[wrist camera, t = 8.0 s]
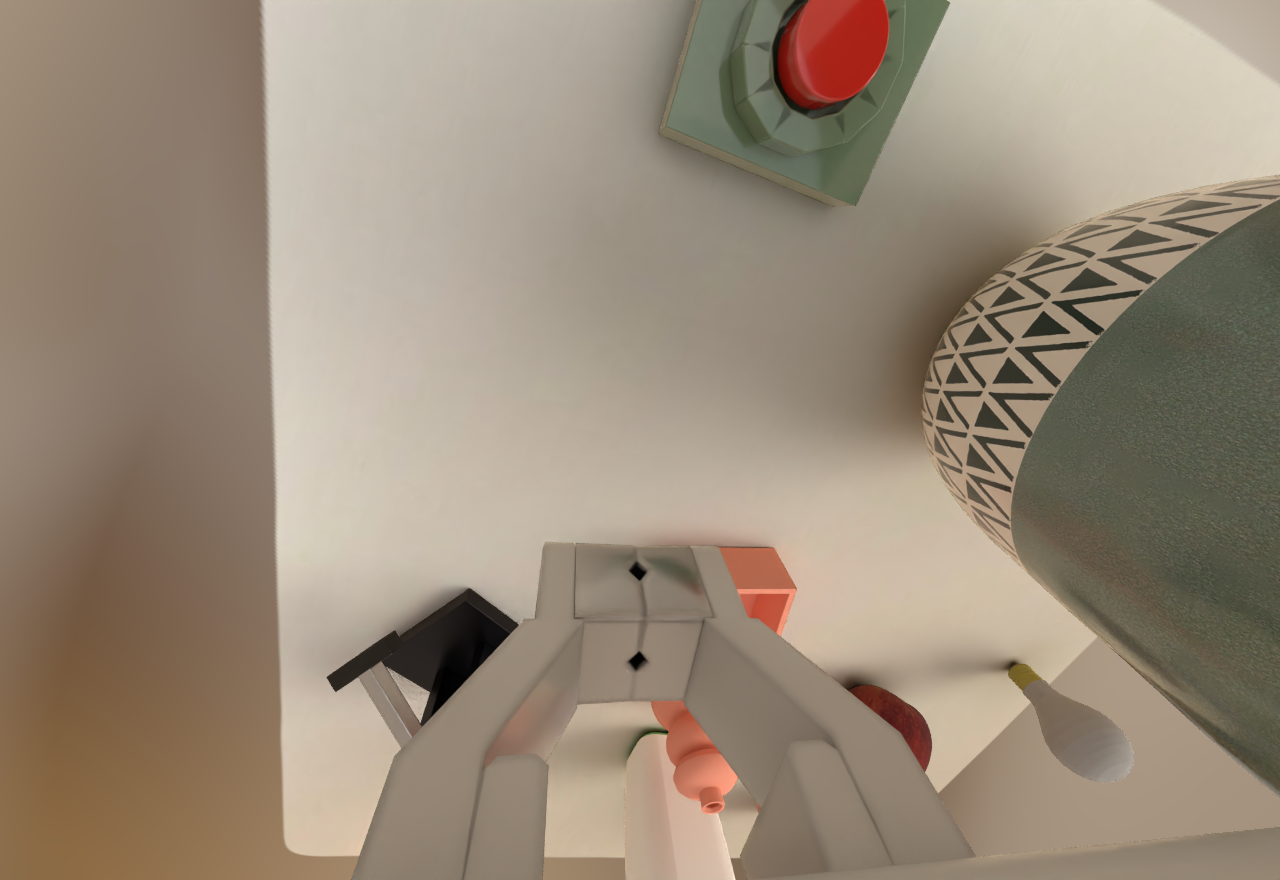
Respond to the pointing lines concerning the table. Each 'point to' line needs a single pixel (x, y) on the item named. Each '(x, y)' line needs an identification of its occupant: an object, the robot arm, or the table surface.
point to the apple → (899, 719)
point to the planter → (1138, 442)
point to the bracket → (450, 647)
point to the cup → (668, 823)
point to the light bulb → (1076, 731)
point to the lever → (380, 686)
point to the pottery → (686, 742)
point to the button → (832, 50)
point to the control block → (764, 114)
